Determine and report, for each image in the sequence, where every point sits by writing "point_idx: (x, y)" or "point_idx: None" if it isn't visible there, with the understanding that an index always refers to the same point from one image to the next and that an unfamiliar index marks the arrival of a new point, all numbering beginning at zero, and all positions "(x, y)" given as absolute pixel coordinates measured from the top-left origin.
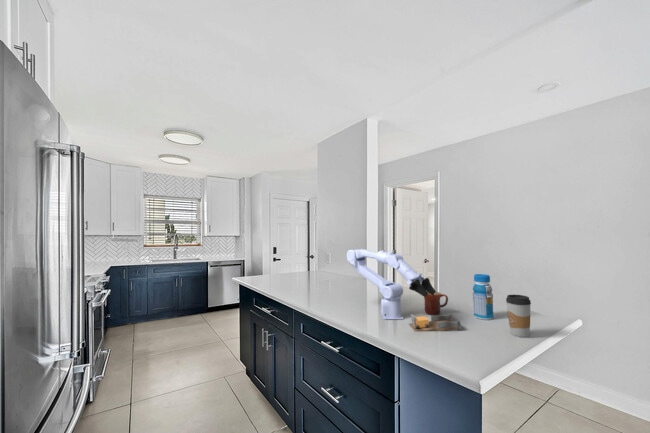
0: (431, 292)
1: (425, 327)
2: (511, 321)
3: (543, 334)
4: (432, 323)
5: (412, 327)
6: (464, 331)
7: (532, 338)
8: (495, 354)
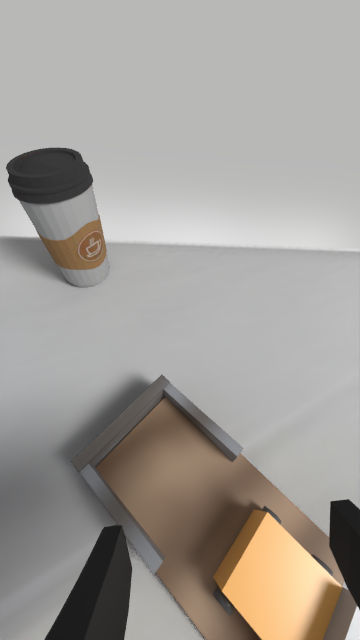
0: (123, 599)
1: None
2: (97, 249)
3: None
4: (190, 531)
5: None
6: None
7: None
8: (263, 270)
